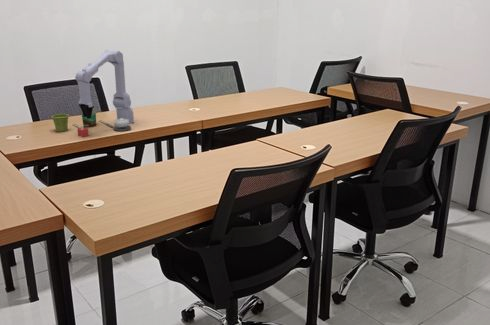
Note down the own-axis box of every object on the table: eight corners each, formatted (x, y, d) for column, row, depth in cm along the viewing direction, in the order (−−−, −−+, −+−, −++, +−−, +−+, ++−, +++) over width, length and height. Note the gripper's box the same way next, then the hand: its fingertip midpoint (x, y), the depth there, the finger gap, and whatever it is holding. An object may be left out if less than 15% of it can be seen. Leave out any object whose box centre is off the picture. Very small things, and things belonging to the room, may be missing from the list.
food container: (92, 128, 288) (90, 111, 285) (82, 128, 289) (80, 111, 286) (102, 123, 300) (100, 107, 296) (92, 122, 301) (91, 106, 297)
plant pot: (65, 133, 279) (63, 118, 276) (49, 132, 281) (48, 117, 278) (73, 128, 288) (72, 114, 285) (58, 127, 289) (57, 113, 287)
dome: (125, 122, 292) (124, 115, 290) (131, 125, 286) (130, 118, 284) (112, 124, 287) (112, 117, 286) (118, 127, 281) (117, 120, 280)
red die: (84, 134, 277) (83, 126, 275) (88, 135, 274) (87, 128, 273) (78, 135, 274) (77, 128, 272) (82, 137, 271) (81, 129, 270)
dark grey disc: (126, 126, 294) (126, 124, 293) (133, 129, 286) (133, 127, 286) (110, 128, 288) (110, 126, 288) (117, 132, 281) (117, 130, 280)
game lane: (101, 120, 306) (101, 119, 305) (114, 127, 291) (114, 126, 290) (72, 125, 295) (72, 124, 295) (84, 132, 280) (84, 131, 280)
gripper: (73, 92, 273) (75, 115, 278) (82, 96, 263) (85, 121, 267) (85, 90, 277) (88, 114, 282) (95, 94, 267) (97, 119, 271)
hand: (87, 117), depth 275 cm, fingers open, 4 cm apart
